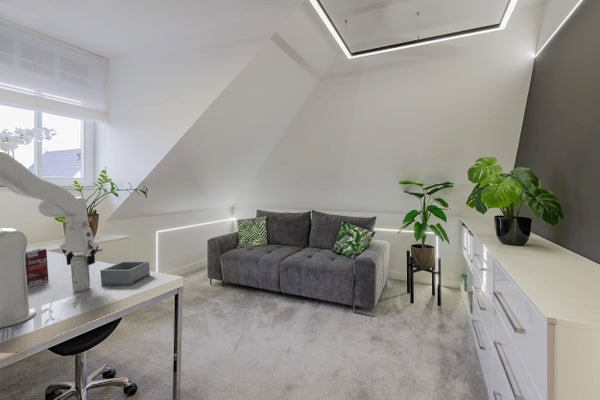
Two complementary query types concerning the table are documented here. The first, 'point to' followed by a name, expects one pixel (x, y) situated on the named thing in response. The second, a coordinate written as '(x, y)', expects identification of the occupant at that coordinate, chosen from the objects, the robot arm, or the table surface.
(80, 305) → the table surface
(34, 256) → the supplement box
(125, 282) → the desk bin
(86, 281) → the energy drink can
